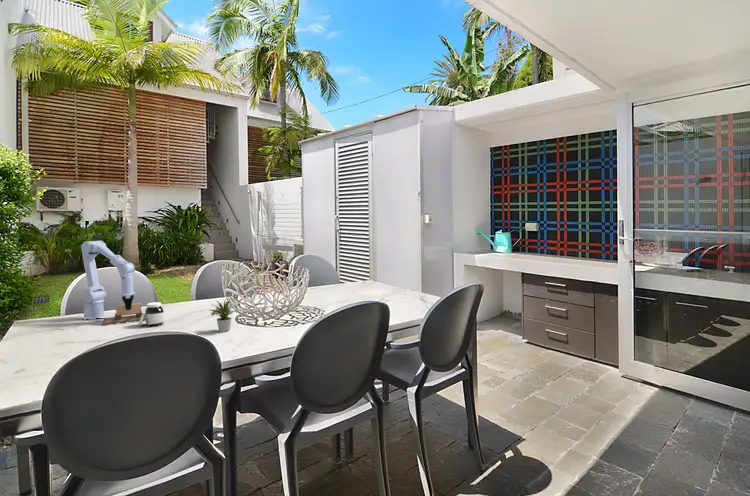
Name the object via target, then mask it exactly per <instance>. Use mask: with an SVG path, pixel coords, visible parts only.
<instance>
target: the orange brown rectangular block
mask: <svg viewBox="0 0 750 496" xmlns="http://www.w3.org/2000/svg"><path fill="white" fill-rule="evenodd" d="M141 311H142V303H141V302H137V303H132V305H131V310H126V307H125V304H117V305H116V306H115V314H116V315H121V316H130V315H136V313H141Z"/></svg>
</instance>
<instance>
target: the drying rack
mask: <svg viewBox="0 0 750 496" xmlns="http://www.w3.org/2000/svg"><path fill="white" fill-rule="evenodd" d="M142 313H143V311H142V310H141V313H136V314H133V315H123V316H121V315H116V313H114V316H112V317H111V316H110V317H105V318H103V321H102V326H103V325H104V326H110V325H109V324H113V325H118V324H117V323H122V324H127V323H126V322H132V323H136V322H135V321H140V318H141V315H142ZM144 320H146V318H145V317H144ZM144 320H143V322H145V321H144Z"/></svg>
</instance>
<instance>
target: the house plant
mask: <svg viewBox="0 0 750 496" xmlns="http://www.w3.org/2000/svg"><path fill="white" fill-rule="evenodd" d="M223 301H224V300H223ZM216 302H217V304H218V305H219V307H220V308H221V309H220V308H219V307H218V305H215V304H213V303H211V306H213V307H215V308H216V307H217V308H218V309H219V310H220V311H219V310H218V309H217V310H216V309H208V311H211V312H213V313H211V315H210V316H211V317H212V316H214V315H216V316H218V317H217V318H216V322H217V328H218V331H219V333H228V332H230V330H231V324H232V317H230V315H231V314H230V313H231V312H229V310H230V309H231V307H232V306H233V305H231V306H230V305H229V302H230V300H229V301H227V302H226V305H225V301H224V306H222V304H221V303H222V302H219V301H218V300H216ZM231 302H232V301H231ZM230 304H231V303H230ZM232 304H233V303H232ZM228 305H229V306H230V308H229V307H228ZM228 309H229V310H228ZM215 312H217V313H219V314H215ZM232 312H233V311H232ZM233 313H234V312H233Z"/></svg>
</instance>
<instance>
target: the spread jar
mask: <svg viewBox="0 0 750 496" xmlns="http://www.w3.org/2000/svg"><path fill="white" fill-rule="evenodd" d="M144 312H145V313H144ZM144 312H142V315H141V318H140V321H139V322H138V325H137V326H139V327H141V326H142V324H143V322H144V321H143V320H144V317H145V318H146V321H145V323H146V326H147V327H149V326H155V327H159V325H160V326H162V325H163V324H164V323H165V314H164V308H163V307H162V302H160V301H159V302H158V301H157V302H156V301H154V302H149V303H147V304H146V308H145V311H144Z"/></svg>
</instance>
